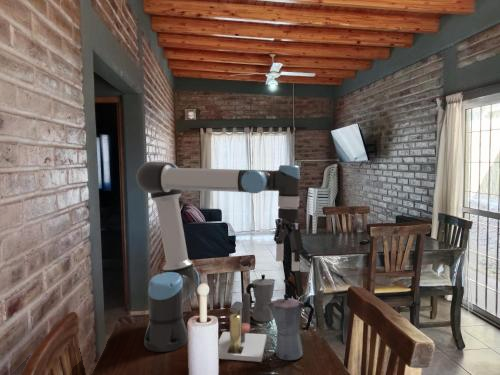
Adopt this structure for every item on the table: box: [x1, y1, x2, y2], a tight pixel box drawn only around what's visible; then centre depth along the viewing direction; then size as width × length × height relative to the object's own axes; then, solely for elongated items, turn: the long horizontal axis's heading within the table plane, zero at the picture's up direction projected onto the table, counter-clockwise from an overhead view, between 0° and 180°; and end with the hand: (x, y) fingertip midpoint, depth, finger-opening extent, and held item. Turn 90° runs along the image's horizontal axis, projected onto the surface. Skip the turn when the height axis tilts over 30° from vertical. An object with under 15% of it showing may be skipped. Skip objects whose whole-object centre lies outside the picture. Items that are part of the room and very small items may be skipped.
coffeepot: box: [245, 274, 276, 323], centre depth 146 cm, size 15×9×18 cm, turn 129°
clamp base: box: [218, 331, 267, 363], centre depth 122 cm, size 16×16×2 cm
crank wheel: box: [229, 292, 251, 343], centre depth 123 cm, size 14×6×15 cm, turn 161°
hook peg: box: [229, 312, 242, 354], centre depth 118 cm, size 4×4×14 cm
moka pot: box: [267, 293, 315, 361], centre depth 117 cm, size 10×15×20 cm, turn 81°
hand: (287, 265), depth 130 cm, fingers open, 13 cm apart
